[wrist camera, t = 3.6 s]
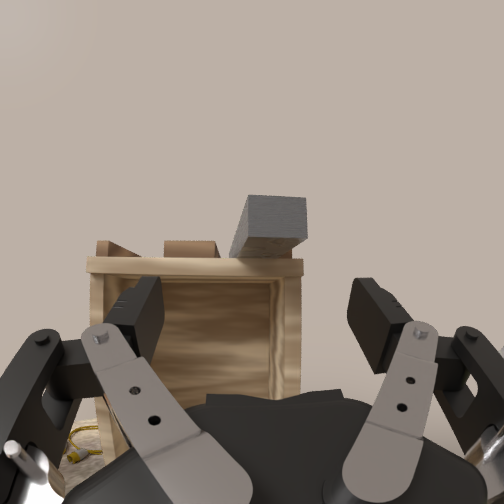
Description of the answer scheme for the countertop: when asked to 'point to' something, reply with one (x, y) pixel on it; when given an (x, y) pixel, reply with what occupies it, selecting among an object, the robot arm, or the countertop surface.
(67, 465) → the countertop surface
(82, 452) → the extension cord
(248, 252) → the steel bar
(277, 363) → the wooden crate
